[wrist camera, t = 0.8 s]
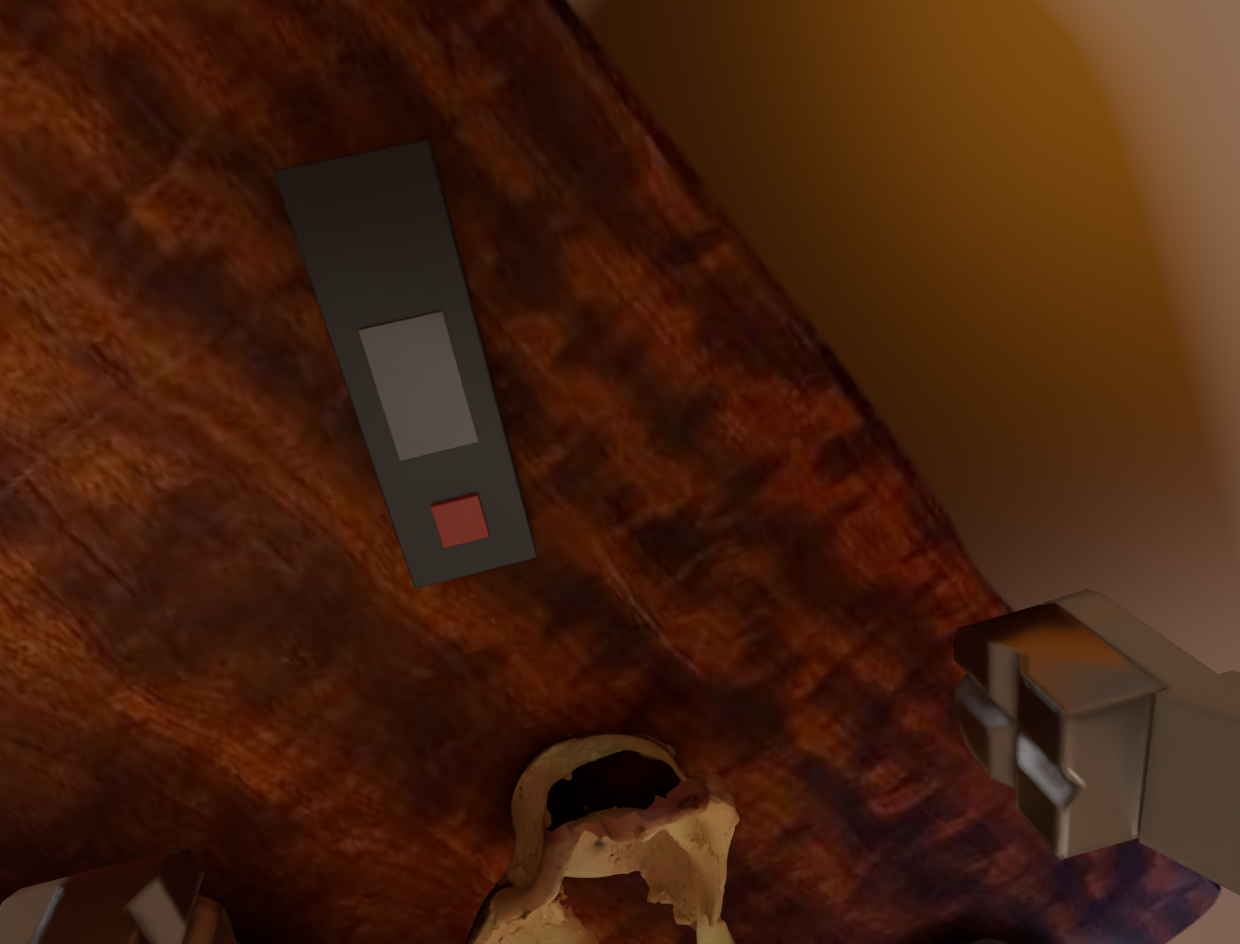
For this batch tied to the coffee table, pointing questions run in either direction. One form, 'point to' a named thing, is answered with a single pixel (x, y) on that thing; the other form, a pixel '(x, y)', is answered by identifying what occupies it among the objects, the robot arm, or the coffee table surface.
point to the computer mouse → (981, 941)
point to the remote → (411, 356)
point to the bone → (611, 848)
